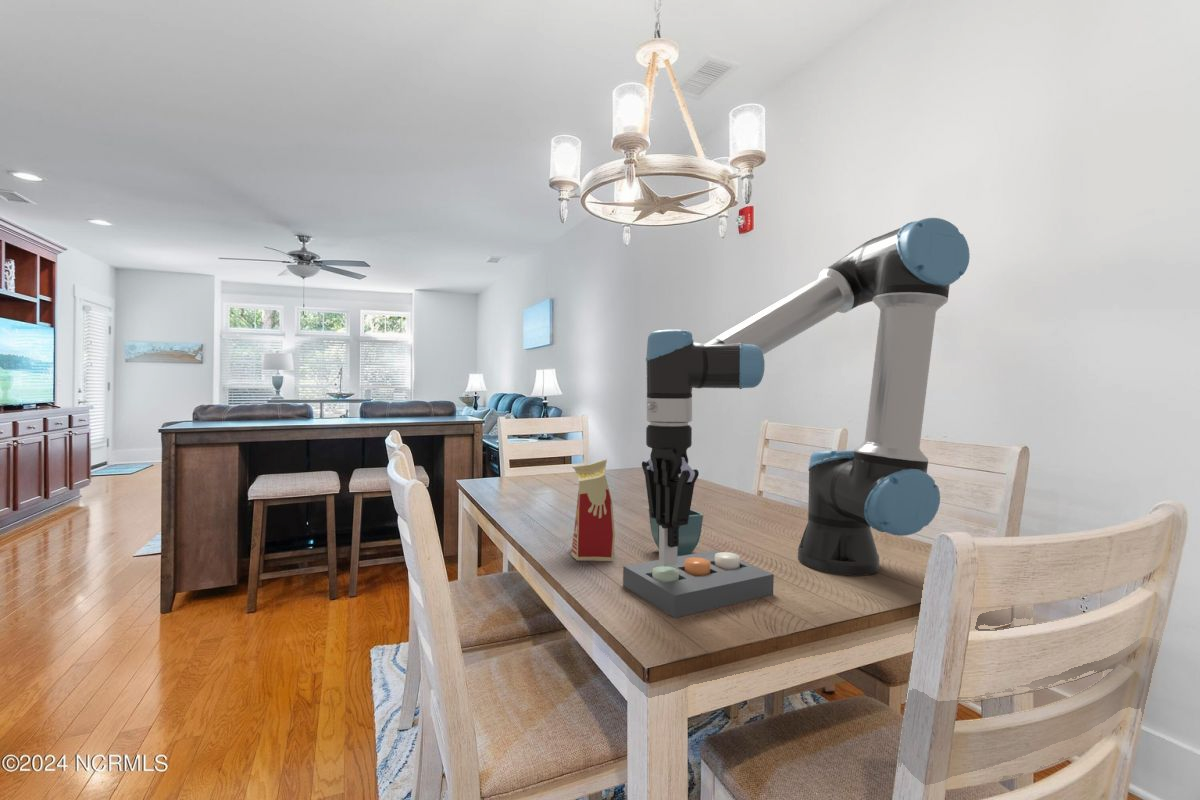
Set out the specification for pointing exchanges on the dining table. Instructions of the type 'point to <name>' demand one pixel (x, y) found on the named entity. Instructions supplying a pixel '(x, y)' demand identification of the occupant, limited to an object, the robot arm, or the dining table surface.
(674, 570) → the sage button
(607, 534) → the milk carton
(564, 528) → the dining table surface
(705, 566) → the orange button
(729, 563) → the cream button
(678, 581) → the button panel
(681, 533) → the flower pot
